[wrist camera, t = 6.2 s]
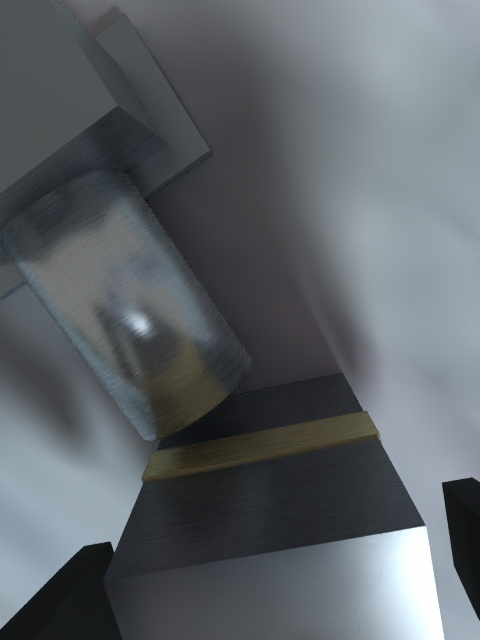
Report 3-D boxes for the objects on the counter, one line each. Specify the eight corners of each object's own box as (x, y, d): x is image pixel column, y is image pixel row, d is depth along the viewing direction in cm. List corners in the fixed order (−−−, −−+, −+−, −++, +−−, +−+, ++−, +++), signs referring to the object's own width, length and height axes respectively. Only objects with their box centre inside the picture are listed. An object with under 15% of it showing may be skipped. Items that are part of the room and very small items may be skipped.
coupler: (372, 522, 13) (469, 778, 7) (213, 549, 13) (180, 814, 7) (343, 370, 12) (429, 521, 6) (173, 404, 12) (98, 579, 6)
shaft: (310, 309, 11) (341, 367, 7) (107, 433, 12) (28, 549, 8) (132, 24, 10) (41, -112, 6) (-80, 188, 11) (-290, 175, 7)
